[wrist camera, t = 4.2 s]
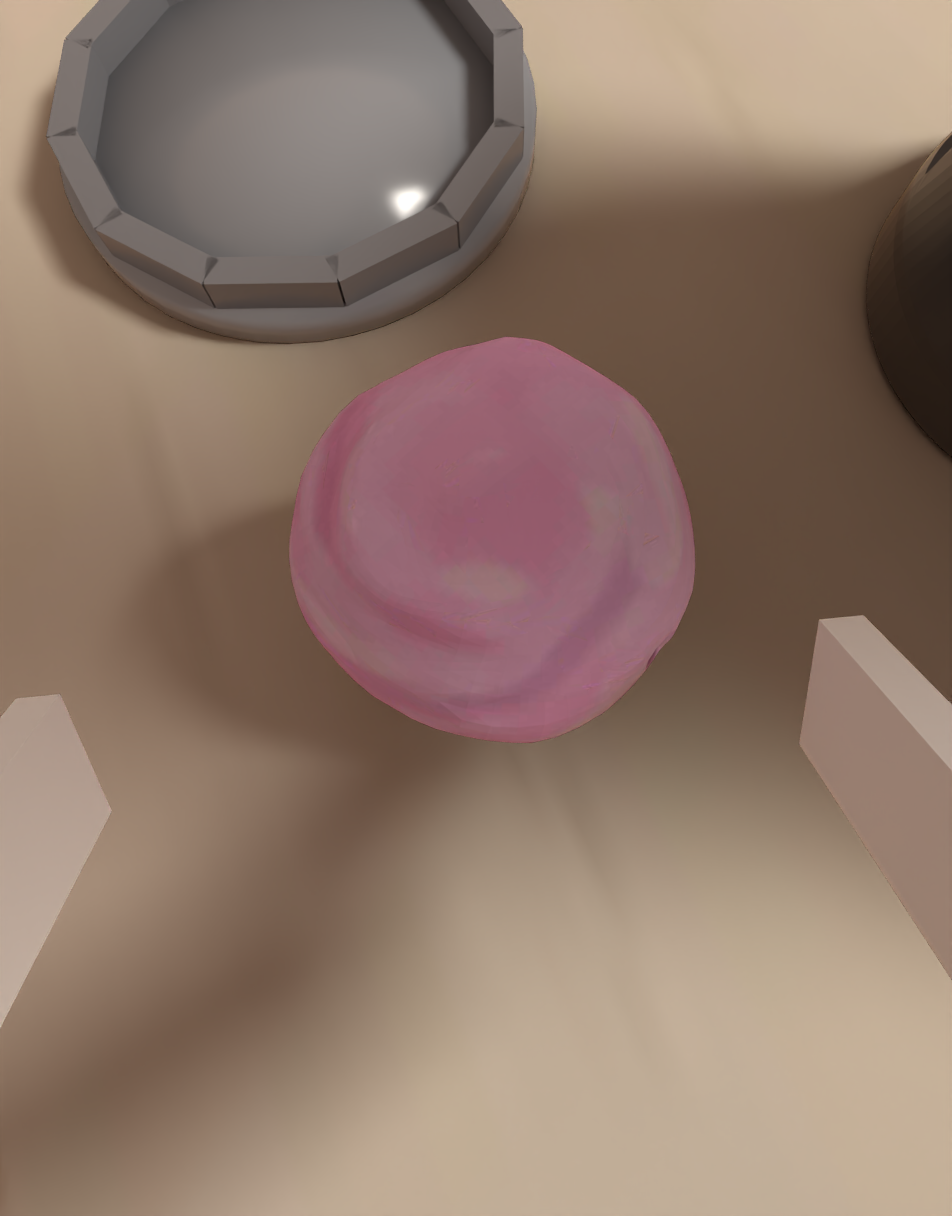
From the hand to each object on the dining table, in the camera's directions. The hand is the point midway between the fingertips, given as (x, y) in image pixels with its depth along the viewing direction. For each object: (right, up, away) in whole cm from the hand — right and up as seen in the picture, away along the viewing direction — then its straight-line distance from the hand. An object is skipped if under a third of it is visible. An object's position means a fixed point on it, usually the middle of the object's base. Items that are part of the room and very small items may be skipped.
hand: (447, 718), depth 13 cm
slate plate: (-6, +19, +15) cm, 25 cm away
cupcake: (+1, +2, +10) cm, 10 cm away
